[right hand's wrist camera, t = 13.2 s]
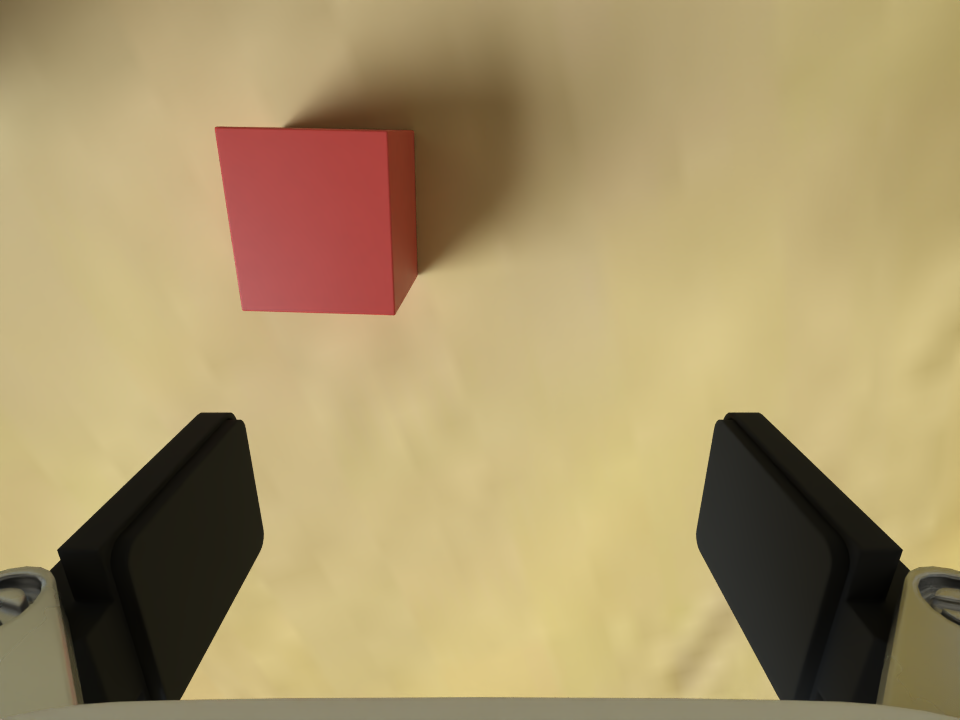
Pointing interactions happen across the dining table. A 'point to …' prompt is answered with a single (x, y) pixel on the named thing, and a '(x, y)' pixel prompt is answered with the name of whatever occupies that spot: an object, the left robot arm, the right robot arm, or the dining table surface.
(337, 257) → the block
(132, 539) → the right robot arm
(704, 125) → the dining table surface
